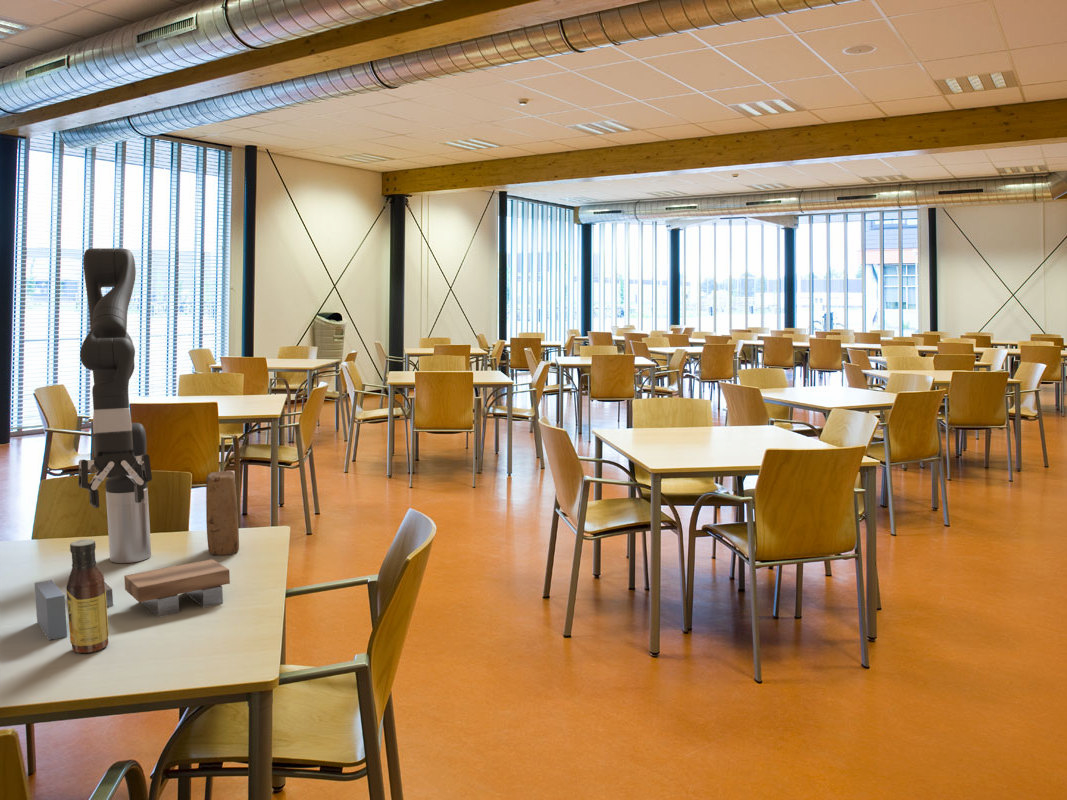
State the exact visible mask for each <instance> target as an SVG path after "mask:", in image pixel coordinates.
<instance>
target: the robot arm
mask: <svg viewBox="0 0 1067 800" xmlns="http://www.w3.org/2000/svg"><path fill="white" fill-rule="evenodd" d="M133 254H134V253H133V252H132V251H131V250H129V249H127V248H119V247H118V248H113V247H112V248H101V247H100V248H96V247H95V248H87V249H86V250H85V252H84V255H83V262H82V263H83V273H84V274H83V275H84V280H85V281H84V283H85V288H86V289H85V290H86V297H87V303H88V304H87V305H88V306H87V307H88V312H89V328H90V329H89V332H88V333H87V335H86V336H85V338H84V340H83V342H82V344H81V346H80V351H79V352H80V353H79V358H80V362H81V364H82V365H83V366H84V368H86V369H87V370H89V371H92V376H93V377H92V378H93V386H92V391H91V392H92V407H93V408H92V409H93V415H92V429H93V444H94V445H93V447H94V458H93V459H80V460H79V461H78V487H79V488H81V489H86V490H88V495H89V496H88V497H89V504H90V506H92V508H94V509H97V508H100V495H99V490H98V487H99V486H100V484H101V483H102V482H103V481H104V480H105V479H106V478H107V479H106V480H105V485H104V486H105V498H106V499H105V500H106V514H107V515H106V516H107V517H106V518H107V532H108V534H107V535H108V548H109V550H108V551H109V561H110V562H111V563H113V564H129V563H131V564H132V563H137V562H141V561H145V560H147V559H149V558H151V557H152V550H151V549H152V547H151V525H150V511H149V510H150V507H149V493H148V491H149V490H148V488H149V487H148V482H151V481H152V480H153V477H152V476H153V475H152V468H151V460H150V459H151V458H150V455H149V454H147V433H146V429H145V427H144V425H143V424H142V423H140V422H132V415H131V412H130V397H129V396H130V395H129V385H130V384H129V383H130V380H131V378H132V376H133V373H134V371H135V357H136V356H135V355H136V348H135V346H134V343H133V342H134V341H133V340H132V339H133V338H131V336H130V334H129V333H128V331H127V329H128V311H129V306H130V302H131V299H132V295H133V291H134V287H135V283H136V282H135V281H136V275H137V274H136V272H137V270H136V269H137V268H136V262H135V258H134V255H133ZM102 288H111V289H110V290H109V291H108V292H107V293H106V294H105V295H103V293H102ZM92 466H93V467H95V469H96V470H97V472H96V473H95V474H94V476H93V477H92V480H91V481H90V482H89V471H90V470H91V469H92Z"/></svg>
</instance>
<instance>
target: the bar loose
mask: <svg viewBox="0 0 1067 800" xmlns="http://www.w3.org/2000/svg"><path fill="white" fill-rule="evenodd" d="M104 586H105V590H106V602H107V608H110V607H114V597H113V595H114V594H113V588H112V587H110V585H109V584H107V583H106V582H105V581H104ZM109 606H110V607H109Z"/></svg>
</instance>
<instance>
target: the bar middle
mask: <svg viewBox="0 0 1067 800" xmlns="http://www.w3.org/2000/svg"><path fill="white" fill-rule="evenodd" d="M179 600H180V599H179V594H177V595H172V596H167V597H163V598H158V599H153V600H148V601H143V602H140V603H141V604H143V606H145V607H146V608H147V609H148V610H150V611H151V612H152V613H153V614H154V615H155V616H157V618H162V617H165V615H166V616H170V615H175V614H178V613H180V603H179ZM161 616H162V617H161Z"/></svg>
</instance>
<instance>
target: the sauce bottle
mask: <svg viewBox="0 0 1067 800" xmlns="http://www.w3.org/2000/svg"><path fill="white" fill-rule="evenodd" d="M69 547H70V548H69V552H70V553H71V561H72V562H71V567H72V568H71V571H70V574H69V577H68V581H67V582H66V583H67V584H66V587H65V590H66V603H67V604H66V605H67V613H68V614H67V615H68V616H67V617H68V630H69V641H70V644H71V649H72V651H73V652H74V653H76V652H77V653H78V654H79V653H80V654H88V653H95V652H99V651H101V650H103V649H105V648H106V647H107V646H108V645H109V635H110V634H109V633H110V631H109V630H110V629H109V618H108V617H109V616H108V607H107V602H106V590H105V586H104V582H105V577H104V574H103V573H102V571H101V570H100V569H99V568H98V566H97V560H96V551H95V550H96V548H97V547H96V540H94V539H92V538H91V539H89V538H86V539H79V540H75V541H72V542H71V543H70V545H69ZM77 653H76V654H77Z"/></svg>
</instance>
